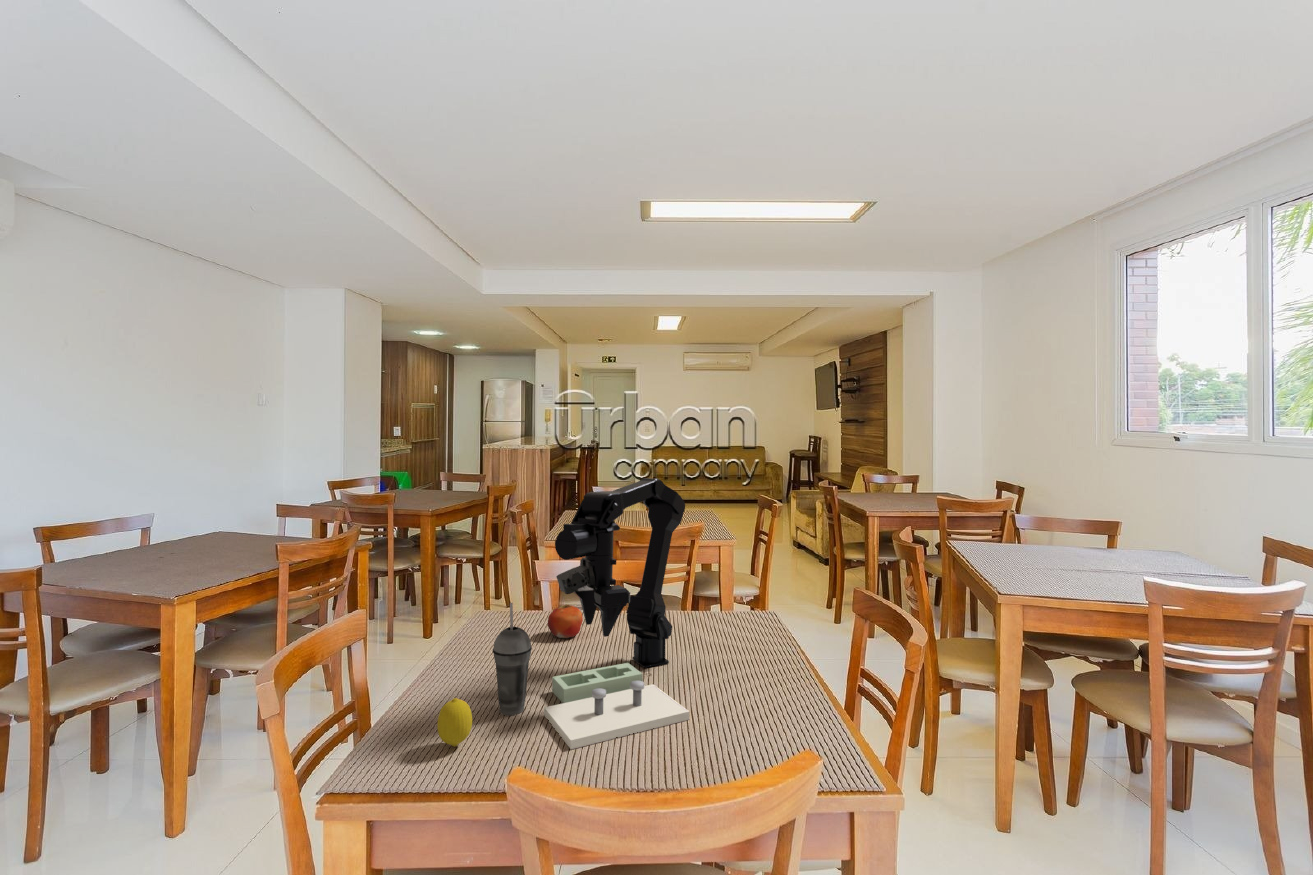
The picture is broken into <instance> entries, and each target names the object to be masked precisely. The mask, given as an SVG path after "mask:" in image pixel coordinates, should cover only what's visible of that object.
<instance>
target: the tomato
mask: <svg viewBox="0 0 1313 875" xmlns="http://www.w3.org/2000/svg"><path fill="white" fill-rule="evenodd" d="M583 618H584V617H583V611H581V609H580V608H578V607H576V606H573V605H571V604H565V605H559V606H558V607H556V608H554V609H553V610H552V611H551V612H550V614H549V616H548V618H547V627H548V629H549V631H550V632H551V634H552V635H553V636H555V637H556V638H559V639H569V638H573V637H575V636H576V635H578V634H579V633H580V631H581V628H582V625H583V621H584V619H583Z"/></svg>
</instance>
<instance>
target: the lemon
mask: <svg viewBox="0 0 1313 875" xmlns="http://www.w3.org/2000/svg"><path fill="white" fill-rule="evenodd" d="M472 714H473V713H472V710H471V707H470V705H469V704H468V702H466V701H464V699H463V700H462V699H459V698H457V697H454V698H452V699H451V700H449V701H447V702H446V703H445V704H444V705H443V706H442V707H441V709H440V711H439V713H438V716H437V717H438V718H437V726H436V728H437V734H438V737H439V738H440V740H441V741H442V742H444V743H445V744H447V745H450V746H452V747H453V748H456V747H458V745H459V744H461V743H462V742H464V741H466V739H467V738H468V737H469V735H470V733H471V732H472V731H471V730H472V726H473V715H472Z"/></svg>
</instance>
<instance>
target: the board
mask: <svg viewBox="0 0 1313 875" xmlns="http://www.w3.org/2000/svg"><path fill="white" fill-rule="evenodd" d="M630 688H631V689H628V690H624V691H619V692H614V693H609V694H606V690H605V689H602V688H597V689H594V690H592V697H591V698H586V699H581V700H577V701H572V702H567V703H562V702H561V703H559V704H553V705H550V706H545V707H544V708H543V710H544V711H543V716H544V717H545V718H546V720H547V719H548V720H549V721H548V720H547V721H548V722H549V724H550V723H551V724H552V725H551V724H550V725H551V726H552V727H553V729H554V728H555V729H554V730H555V731H556V732H558V733H559V734H558V733H557V734H558V735H559V736H560V738H561V737H562V738H561V739H562V740H563V742H564V743H565V744H566V746H568V748H569V749H570V750H574V749H578V748H583V747H585V746H590V745H591V746H592V745H593V744H594V745H595V744H598V743H601V742H607V741H610V740H614V739H617V738H616V737H618V738H621V737H626V736H629V734H630V735H633V733H634V734H638V733H641V732H645V731H649V730H650V731H651V730H653V728H654V729H658V728H661V727H666V726H669V725H673V724H677V723H680V722H686V721H689V720H690V710H688V709H687V708H685V707H684V705H682V704H680V703H679V702H677V701H676V700H675V699H673V698H672V697H671V696H670V695H668V694H667V693H665V692H664V691H663V690H661V689H660V688H659V687H658V686H657V685H655V684H653V683H652V684H648V685H645V682H644V680H643V681H632V682H631V683H630ZM637 732H638V733H637Z"/></svg>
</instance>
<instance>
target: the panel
mask: <svg viewBox="0 0 1313 875" xmlns="http://www.w3.org/2000/svg"><path fill="white" fill-rule="evenodd" d="M643 674H644V673H642V672H641V671H640V670H638V669H637V668H636V667H634V666H633V665H632V664H630V663H629V662H624V663H620V664H619V663H618V664H614V665H608V666H603V667H598V668H597V667H596V668H592V669H587V670H581V671H576V672H572V673H571V672H570V673H567V674H560V675H555V676H552V677H551V678H552V686H551V691H552V693H553V694H554V695H555V696H556V698H557V699H558V700H559V701H560V702H561V704H562V703H567V702H572V701H577V700H581V699H586V698H591V697H592V690H594V689H597V688H602V689H605V690H606V694H609V693H614V692H619V691H624V690H628V689H631V688H630V683H631V682H632V681H643V682H644V680H643V676H644V675H643Z"/></svg>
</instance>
